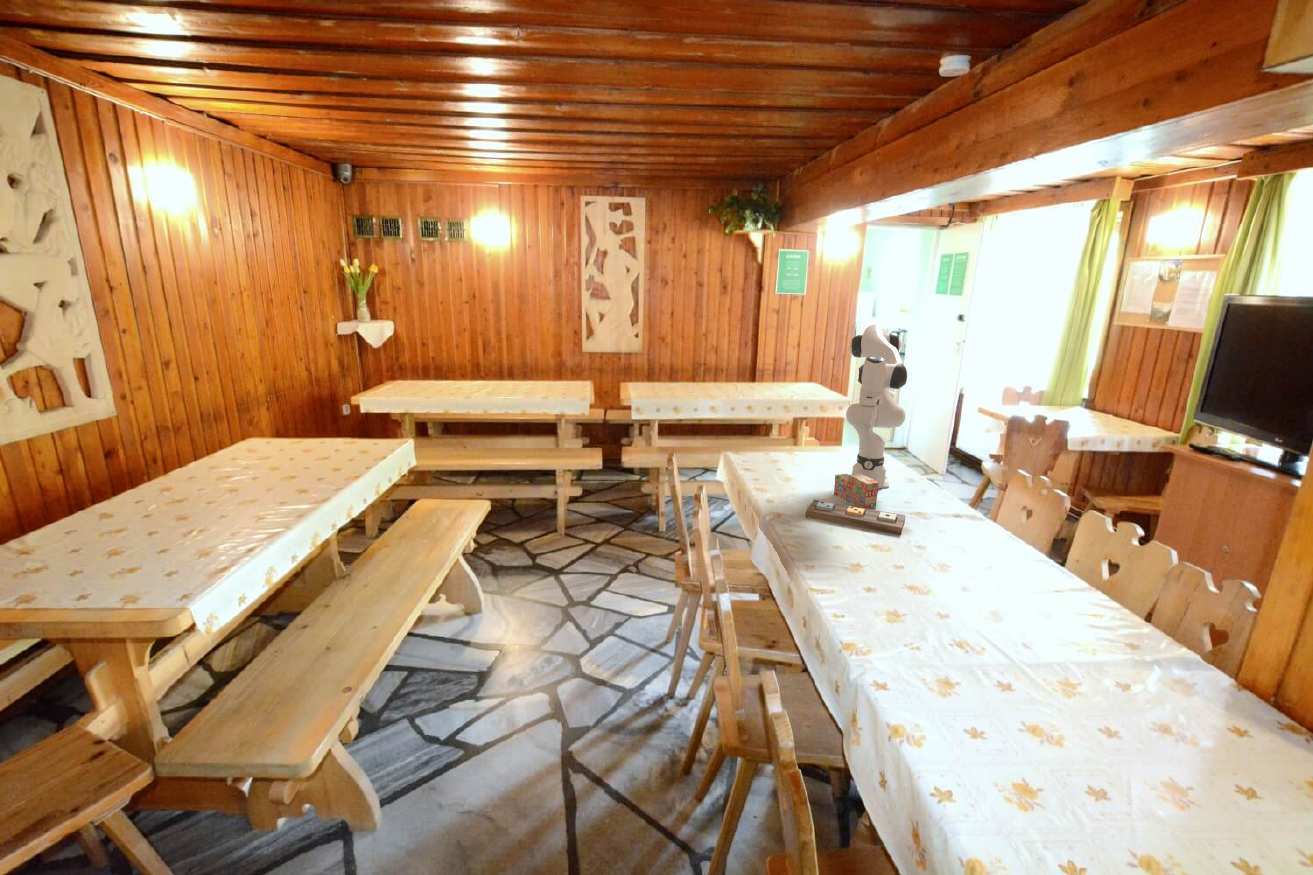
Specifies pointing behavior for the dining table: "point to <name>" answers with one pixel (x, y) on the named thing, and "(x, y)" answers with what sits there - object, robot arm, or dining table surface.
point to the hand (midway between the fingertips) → (867, 431)
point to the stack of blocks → (857, 490)
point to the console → (856, 518)
